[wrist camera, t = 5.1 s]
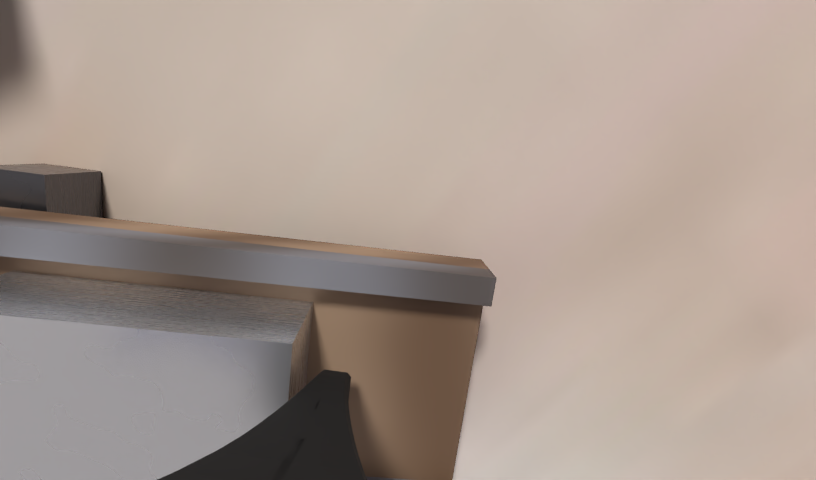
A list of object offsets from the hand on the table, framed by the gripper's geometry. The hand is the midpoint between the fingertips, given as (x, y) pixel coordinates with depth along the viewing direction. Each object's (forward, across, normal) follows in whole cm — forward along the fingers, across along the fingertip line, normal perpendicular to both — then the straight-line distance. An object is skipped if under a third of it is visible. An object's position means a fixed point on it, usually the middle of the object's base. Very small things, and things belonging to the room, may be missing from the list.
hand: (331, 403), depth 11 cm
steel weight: (+1, +5, 0) cm, 5 cm away
